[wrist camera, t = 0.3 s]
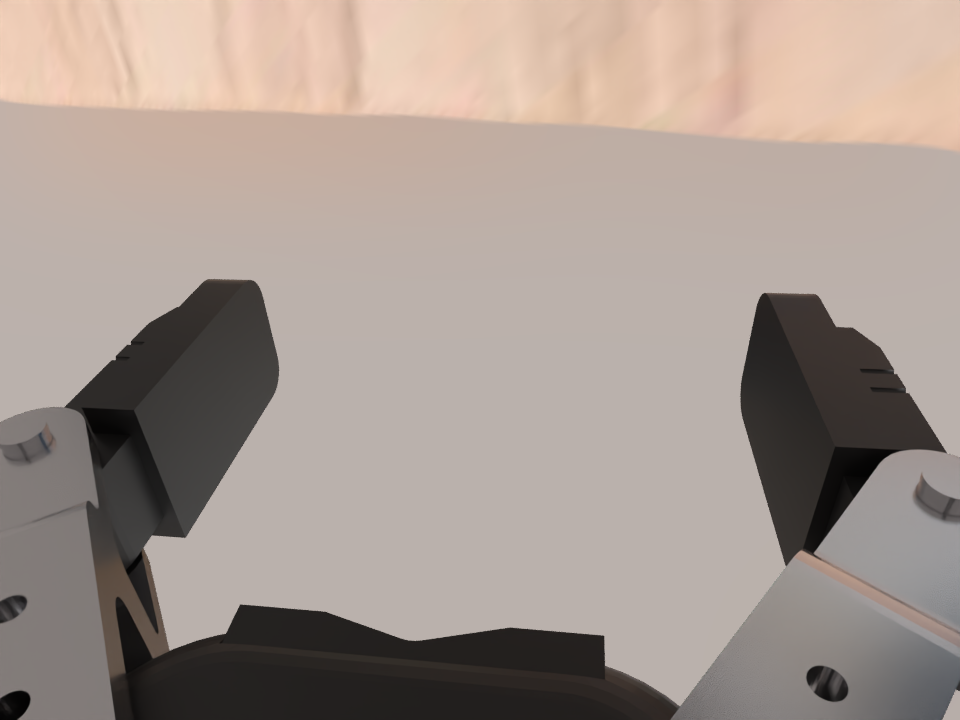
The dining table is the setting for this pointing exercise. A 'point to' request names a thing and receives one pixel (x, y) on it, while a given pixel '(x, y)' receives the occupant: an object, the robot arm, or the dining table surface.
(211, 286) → the robot arm
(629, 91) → the dining table surface
